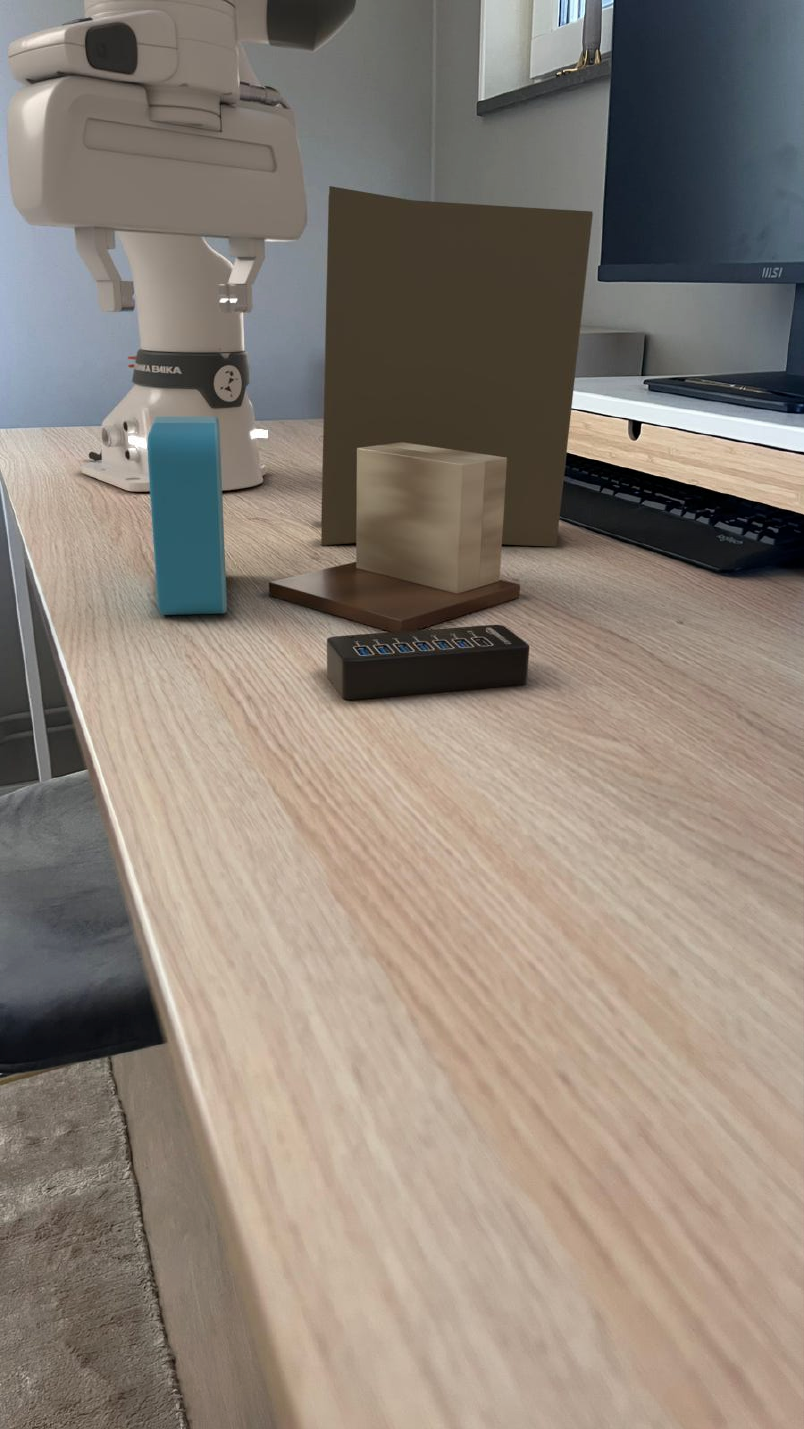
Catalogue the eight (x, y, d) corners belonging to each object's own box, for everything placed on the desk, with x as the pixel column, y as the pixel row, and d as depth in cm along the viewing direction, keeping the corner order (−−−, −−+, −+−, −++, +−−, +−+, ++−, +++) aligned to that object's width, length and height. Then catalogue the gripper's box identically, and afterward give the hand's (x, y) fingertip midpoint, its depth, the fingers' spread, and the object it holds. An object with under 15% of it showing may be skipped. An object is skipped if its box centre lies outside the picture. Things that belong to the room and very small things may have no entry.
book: (542, 530, 100) (576, 211, 90) (563, 553, 92) (603, 203, 81) (321, 522, 99) (328, 196, 88) (321, 545, 90) (329, 186, 79)
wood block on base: (268, 595, 75) (265, 455, 71) (389, 565, 84) (392, 439, 80) (401, 635, 67) (405, 479, 63) (519, 597, 76) (529, 459, 72)
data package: (165, 575, 80) (155, 414, 75) (225, 574, 80) (218, 414, 76) (158, 621, 69) (146, 436, 64) (227, 619, 69) (219, 436, 65)
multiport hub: (325, 673, 60) (325, 636, 59) (500, 659, 63) (502, 623, 62) (344, 700, 56) (344, 660, 55) (529, 684, 59) (532, 645, 58)
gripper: (262, 96, 71) (268, 312, 76) (-21, 41, 57) (10, 310, 62) (326, 86, 67) (328, 314, 72) (39, 24, 53) (67, 313, 58)
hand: (179, 312), depth 67 cm, fingers open, 8 cm apart
